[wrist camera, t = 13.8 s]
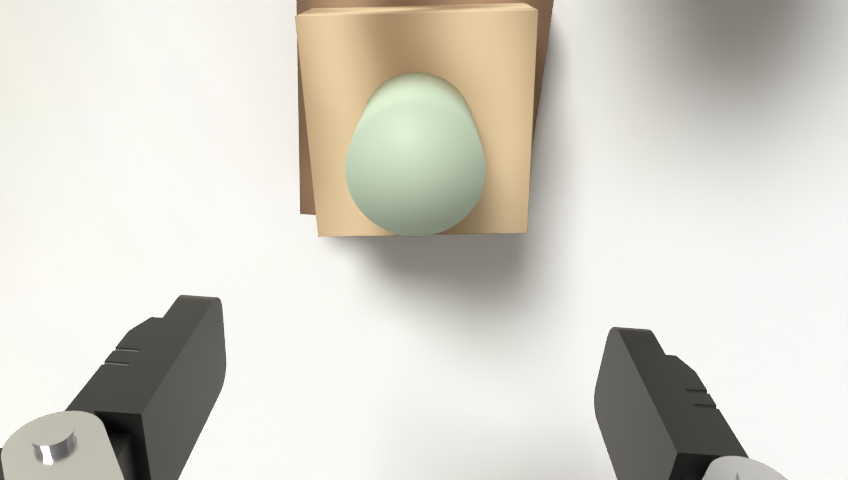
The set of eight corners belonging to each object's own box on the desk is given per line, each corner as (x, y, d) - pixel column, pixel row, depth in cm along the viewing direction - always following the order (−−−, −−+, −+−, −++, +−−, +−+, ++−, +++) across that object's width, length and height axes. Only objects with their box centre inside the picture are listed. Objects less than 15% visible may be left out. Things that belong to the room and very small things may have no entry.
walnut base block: (540, -12, 32) (554, -7, 29) (511, 201, 38) (520, 228, 34) (311, -29, 32) (296, -27, 29) (313, 188, 37) (300, 213, 34)
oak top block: (524, 3, 29) (538, 10, 25) (516, 202, 33) (527, 233, 30) (312, 8, 29) (294, 16, 26) (330, 205, 33) (318, 236, 30)
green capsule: (476, 72, 26) (490, 102, 21) (471, 183, 29) (481, 237, 23) (359, 71, 26) (342, 100, 21) (362, 182, 29) (347, 235, 23)
